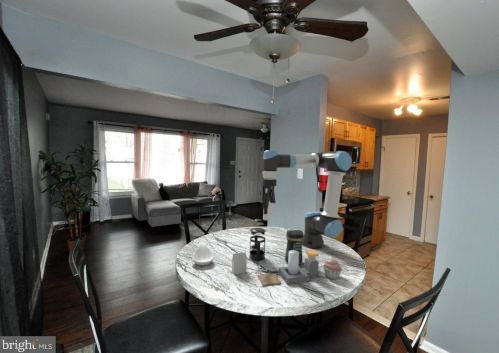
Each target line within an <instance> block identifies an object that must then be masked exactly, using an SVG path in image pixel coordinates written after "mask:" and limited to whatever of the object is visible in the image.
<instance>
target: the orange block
mask: <svg viewBox="0 0 499 353" xmlns="http://www.w3.org/2000/svg"><path fill="white" fill-rule="evenodd" d="M305 254H306V255H307V258H308V261H310V262H316V260H317V257H319V253H318V252H317V251H315V250H306V251H305Z"/></svg>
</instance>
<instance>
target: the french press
mask: <svg viewBox="0 0 499 353" xmlns="http://www.w3.org/2000/svg"><path fill="white" fill-rule="evenodd" d="M262 220H263V219H260V218H256V219H254V221H255V222H257V224H259V223H260V222H262ZM259 234H262V235H259ZM265 234H266V229H265V228H264V227H263V228H262V227H252V228H250V235H252V236H250V237H249V259H250V260H251V261H254V262H263V261H264V260H265V259H266V237H265V236H264V235H265ZM259 239H261V240H259ZM251 243H254V244H251ZM262 243H263V244H264V245H261V244H262Z"/></svg>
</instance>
